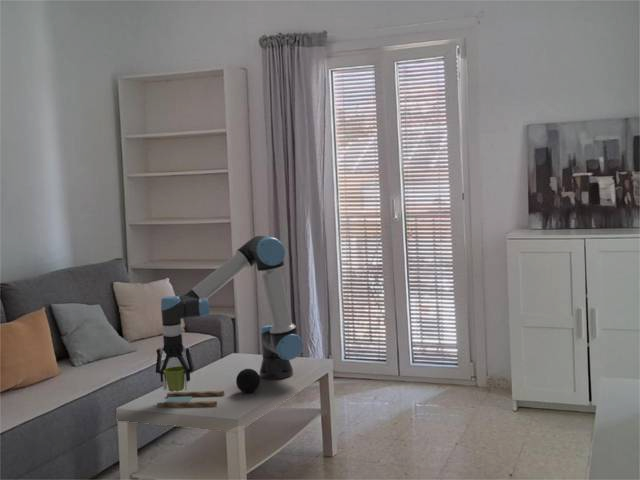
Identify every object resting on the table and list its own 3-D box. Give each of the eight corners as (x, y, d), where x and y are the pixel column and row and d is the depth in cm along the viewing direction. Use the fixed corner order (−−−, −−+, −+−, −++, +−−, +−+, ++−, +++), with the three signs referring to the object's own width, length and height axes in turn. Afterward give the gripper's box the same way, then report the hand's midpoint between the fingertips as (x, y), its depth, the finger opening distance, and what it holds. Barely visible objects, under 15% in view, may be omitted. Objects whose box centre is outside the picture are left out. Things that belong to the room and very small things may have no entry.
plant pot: (160, 390, 301) (158, 369, 300) (179, 385, 308) (177, 364, 307) (172, 394, 295) (171, 373, 294) (192, 388, 301) (190, 368, 300)
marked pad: (192, 397, 306) (192, 396, 306) (185, 404, 296) (185, 403, 296) (168, 397, 307) (168, 397, 307) (161, 405, 297) (161, 404, 297)
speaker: (265, 390, 311) (264, 367, 310) (251, 397, 302) (249, 373, 301) (246, 387, 316) (245, 365, 315) (232, 394, 308) (230, 370, 307)
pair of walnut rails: (224, 394, 308) (224, 390, 308) (215, 406, 292) (215, 402, 292) (168, 395, 310) (168, 392, 310) (157, 407, 294) (156, 404, 294)
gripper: (200, 331, 302) (203, 385, 304) (150, 333, 304) (154, 387, 306) (195, 335, 295) (199, 391, 297) (144, 337, 296) (148, 392, 298)
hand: (176, 389), depth 301 cm, fingers closed on plant pot, 8 cm apart
